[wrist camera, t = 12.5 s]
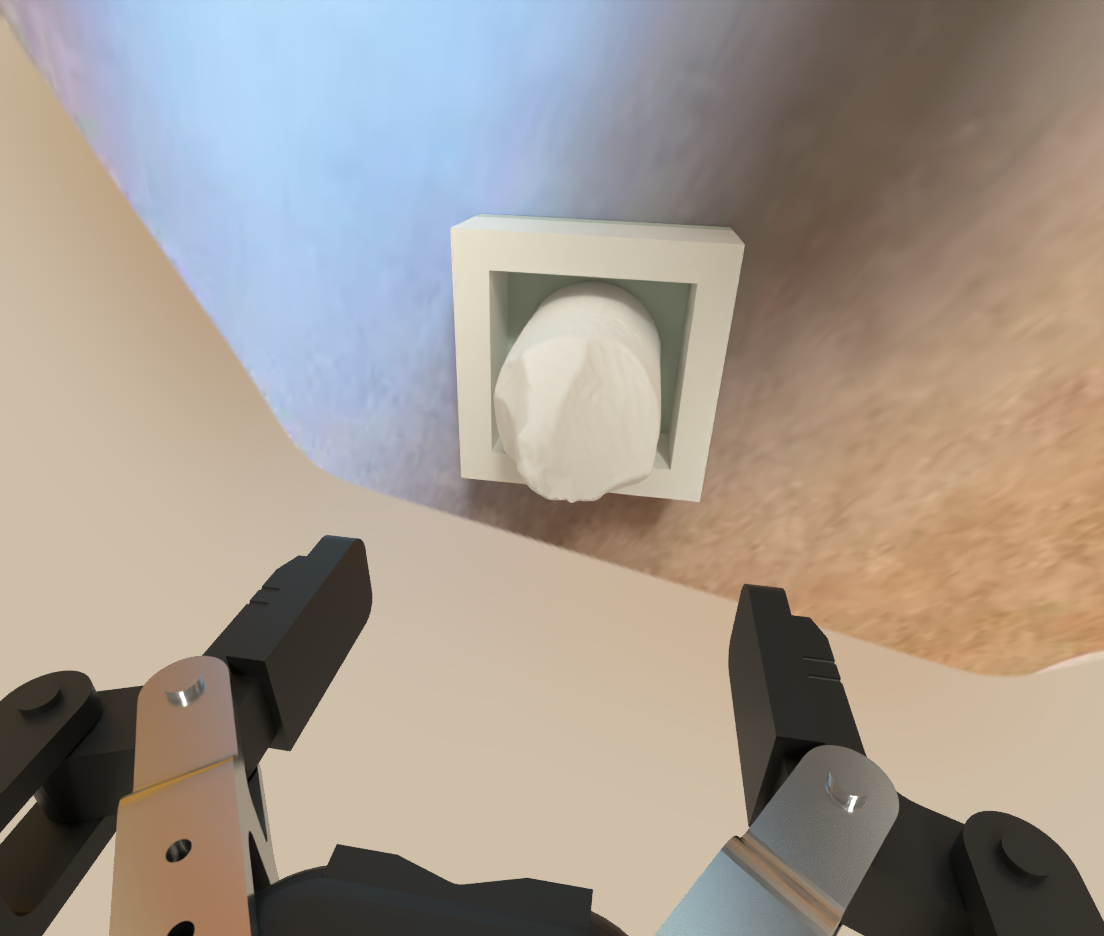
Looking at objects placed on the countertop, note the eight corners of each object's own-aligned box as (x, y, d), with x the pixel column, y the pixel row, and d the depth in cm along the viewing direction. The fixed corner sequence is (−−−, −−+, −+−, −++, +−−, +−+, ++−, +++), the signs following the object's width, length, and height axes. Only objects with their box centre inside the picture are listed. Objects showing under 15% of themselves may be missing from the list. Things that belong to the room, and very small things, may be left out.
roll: (713, 472, 16) (586, 598, 19) (688, 337, 26) (608, 429, 29) (523, 335, 15) (416, 489, 18) (575, 250, 25) (503, 355, 28)
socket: (730, 227, 25) (744, 244, 21) (693, 453, 30) (699, 501, 26) (480, 213, 26) (450, 228, 22) (485, 434, 31) (461, 477, 27)
